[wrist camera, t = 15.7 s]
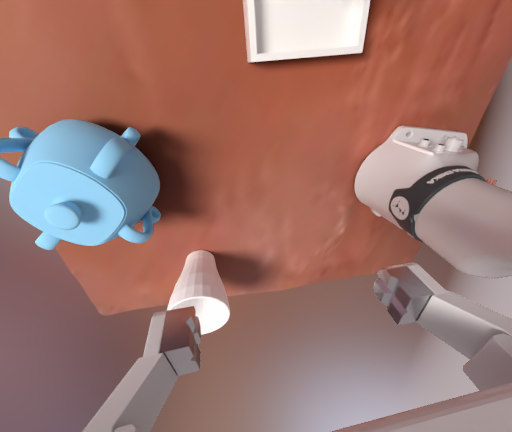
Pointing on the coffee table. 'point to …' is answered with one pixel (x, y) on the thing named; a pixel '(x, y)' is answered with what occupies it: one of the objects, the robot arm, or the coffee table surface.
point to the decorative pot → (81, 183)
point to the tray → (304, 28)
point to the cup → (202, 291)
